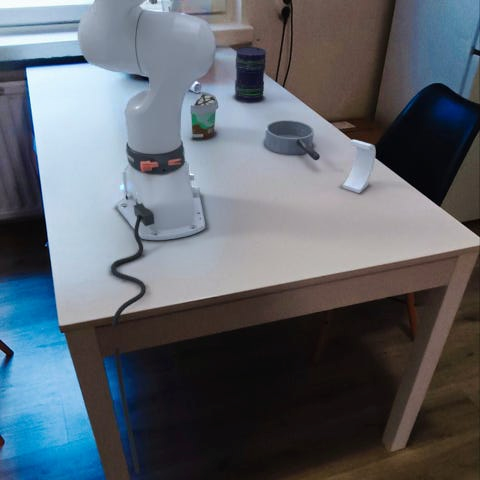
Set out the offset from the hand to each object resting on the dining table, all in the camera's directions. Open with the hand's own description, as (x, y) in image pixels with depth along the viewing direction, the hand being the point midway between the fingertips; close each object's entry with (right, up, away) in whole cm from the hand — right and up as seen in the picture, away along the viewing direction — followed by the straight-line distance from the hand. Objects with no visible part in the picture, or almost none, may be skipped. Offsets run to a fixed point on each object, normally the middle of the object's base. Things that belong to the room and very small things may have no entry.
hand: (162, 9), depth 125 cm
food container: (+10, -27, +18) cm, 34 cm away
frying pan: (-7, +4, +54) cm, 55 cm away
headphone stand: (+48, -46, -3) cm, 67 cm away
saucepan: (+33, -31, +14) cm, 47 cm away
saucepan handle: (+37, -35, +4) cm, 52 cm away
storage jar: (+23, -6, +43) cm, 49 cm away
